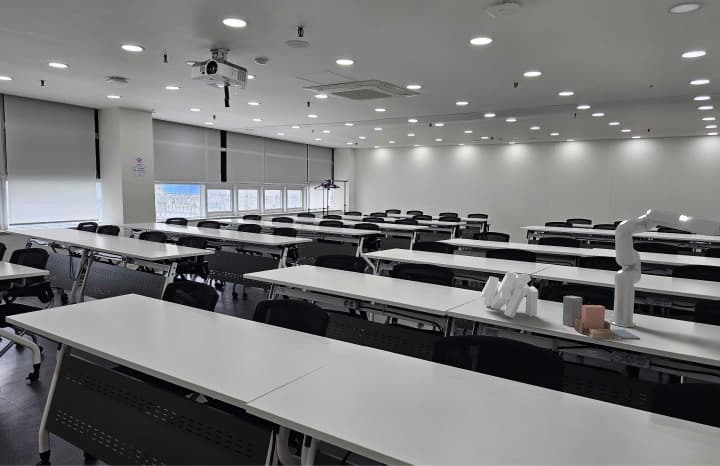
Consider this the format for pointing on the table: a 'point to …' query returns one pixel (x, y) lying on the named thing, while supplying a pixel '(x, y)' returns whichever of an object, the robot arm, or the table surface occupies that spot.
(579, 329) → the rack
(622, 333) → the slate mat
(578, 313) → the skincare box
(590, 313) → the pink block
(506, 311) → the pile of blocks
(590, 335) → the offcut stack
